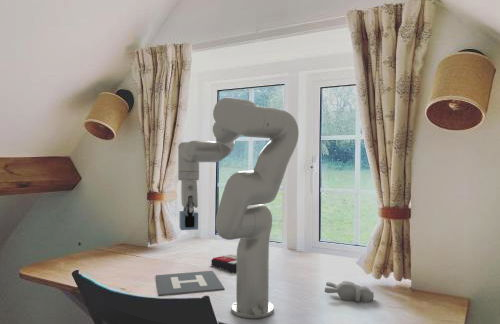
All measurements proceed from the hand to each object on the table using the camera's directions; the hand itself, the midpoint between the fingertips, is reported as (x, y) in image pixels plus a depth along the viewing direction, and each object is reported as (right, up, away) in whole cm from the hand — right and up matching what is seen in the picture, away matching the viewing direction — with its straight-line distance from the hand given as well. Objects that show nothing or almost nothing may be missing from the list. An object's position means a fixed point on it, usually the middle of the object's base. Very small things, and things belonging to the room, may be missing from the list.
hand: (188, 225), depth 137 cm
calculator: (+15, -22, +21) cm, 34 cm away
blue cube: (0, -1, 0) cm, 1 cm away
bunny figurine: (+54, -21, -16) cm, 60 cm away
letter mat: (0, -21, 0) cm, 21 cm away
